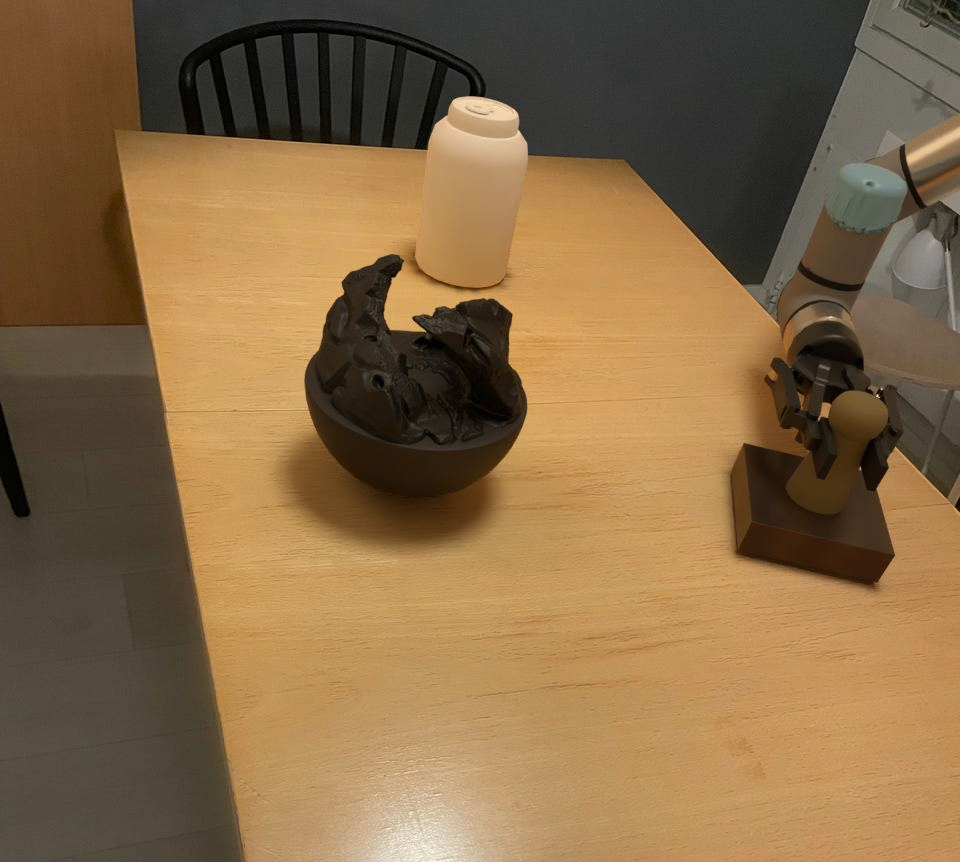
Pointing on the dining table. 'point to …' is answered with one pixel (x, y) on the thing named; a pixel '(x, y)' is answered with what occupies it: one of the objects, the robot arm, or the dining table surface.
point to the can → (471, 193)
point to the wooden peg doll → (840, 453)
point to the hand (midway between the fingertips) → (852, 472)
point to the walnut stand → (806, 521)
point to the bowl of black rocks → (414, 389)
